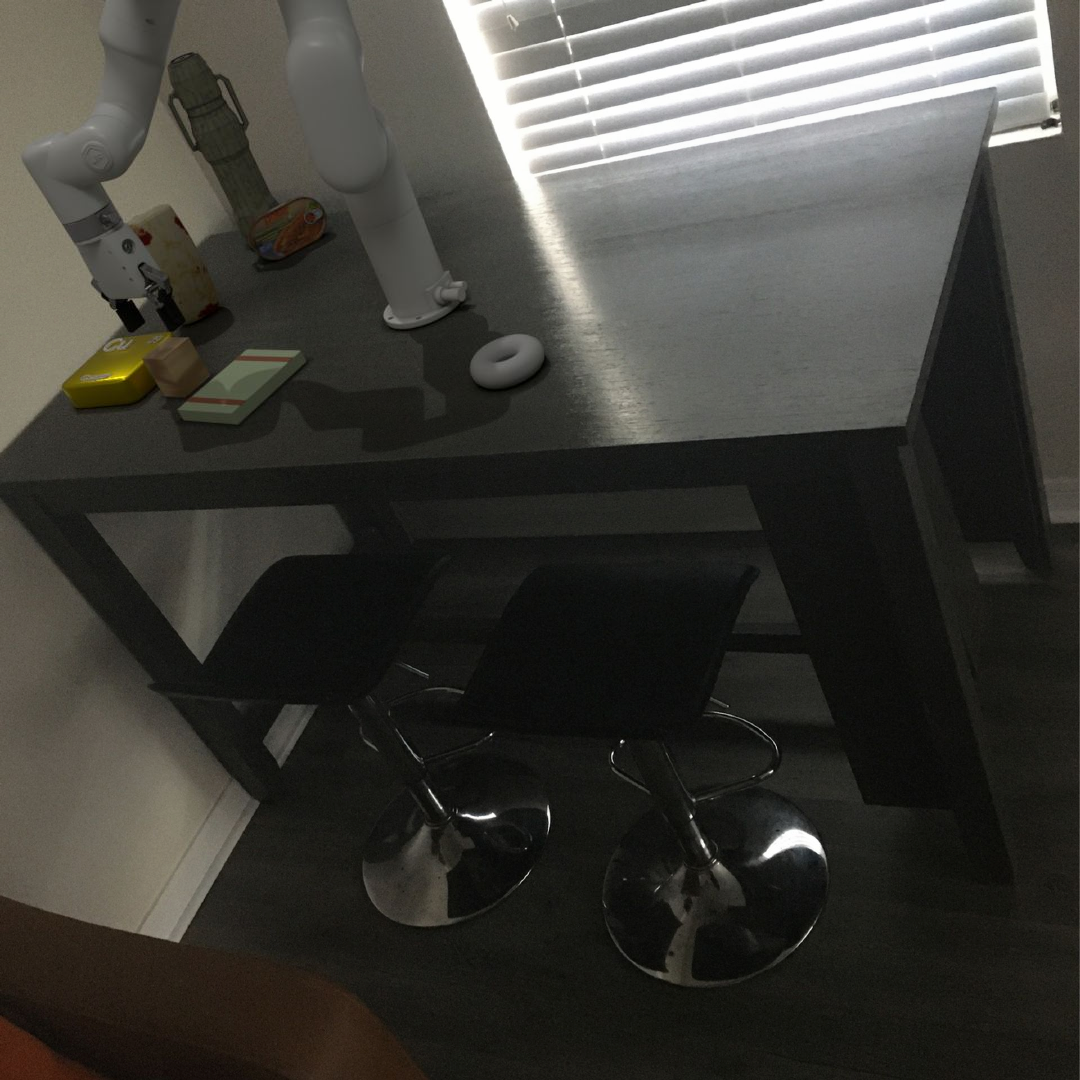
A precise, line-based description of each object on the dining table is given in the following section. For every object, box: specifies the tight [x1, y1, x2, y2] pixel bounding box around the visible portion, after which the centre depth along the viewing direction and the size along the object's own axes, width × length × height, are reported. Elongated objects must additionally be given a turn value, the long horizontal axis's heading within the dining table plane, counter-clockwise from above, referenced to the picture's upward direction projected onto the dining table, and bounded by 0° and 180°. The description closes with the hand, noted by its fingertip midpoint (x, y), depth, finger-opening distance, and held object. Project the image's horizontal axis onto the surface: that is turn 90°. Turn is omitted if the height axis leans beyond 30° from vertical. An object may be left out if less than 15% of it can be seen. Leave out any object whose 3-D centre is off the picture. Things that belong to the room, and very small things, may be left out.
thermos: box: [166, 51, 280, 249], centre depth 201 cm, size 9×12×35 cm
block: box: [142, 336, 211, 399], centre depth 166 cm, size 5×6×7 cm
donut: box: [469, 333, 545, 390], centre depth 139 cm, size 10×4×10 cm
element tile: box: [61, 331, 176, 409], centre depth 175 cm, size 15×15×5 cm
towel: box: [176, 348, 307, 426], centre depth 160 cm, size 12×16×2 cm
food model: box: [126, 203, 220, 326], centre depth 184 cm, size 10×7×20 cm
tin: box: [249, 195, 328, 261], centre depth 200 cm, size 15×3×8 cm, turn 120°
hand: (157, 327), depth 162 cm, fingers open, 9 cm apart
